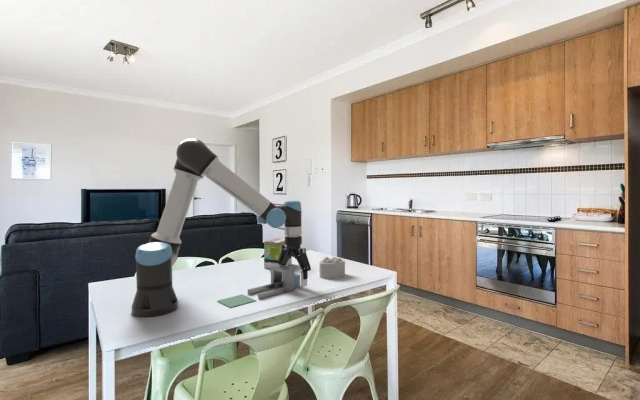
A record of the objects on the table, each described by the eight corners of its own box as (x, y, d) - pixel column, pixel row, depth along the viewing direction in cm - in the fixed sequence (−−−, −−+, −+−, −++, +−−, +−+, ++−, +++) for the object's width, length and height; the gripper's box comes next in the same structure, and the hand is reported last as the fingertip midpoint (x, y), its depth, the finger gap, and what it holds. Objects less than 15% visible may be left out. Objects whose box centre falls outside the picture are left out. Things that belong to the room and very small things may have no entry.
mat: (230, 308, 125) (230, 307, 125) (217, 301, 132) (217, 300, 132) (255, 300, 132) (255, 300, 132) (242, 294, 140) (242, 294, 140)
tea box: (280, 270, 181) (280, 242, 180) (263, 268, 184) (263, 241, 184) (292, 263, 195) (292, 238, 194) (276, 262, 198) (276, 237, 198)
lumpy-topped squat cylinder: (347, 275, 170) (347, 258, 169) (329, 280, 161) (329, 262, 161) (332, 271, 177) (332, 254, 177) (314, 276, 169) (314, 258, 168)
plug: (279, 291, 144) (279, 280, 143) (272, 289, 147) (272, 277, 147) (300, 286, 152) (300, 275, 151) (293, 284, 155) (293, 273, 155)
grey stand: (260, 299, 134) (260, 275, 133) (246, 293, 141) (245, 270, 141) (294, 290, 145) (294, 268, 145) (279, 285, 153) (279, 264, 153)
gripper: (318, 237, 145) (319, 287, 146) (282, 232, 163) (283, 276, 163) (305, 239, 139) (306, 291, 140) (269, 233, 157) (270, 279, 158)
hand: (294, 283), depth 152 cm, fingers open, 13 cm apart
